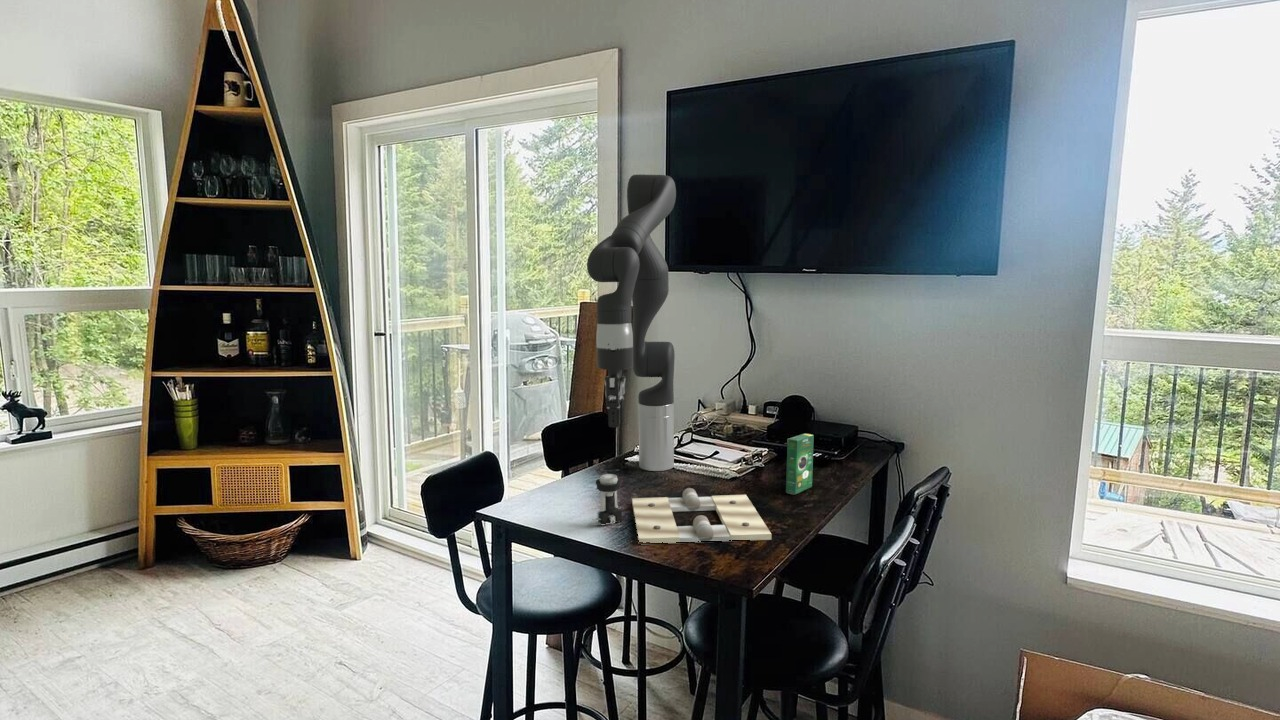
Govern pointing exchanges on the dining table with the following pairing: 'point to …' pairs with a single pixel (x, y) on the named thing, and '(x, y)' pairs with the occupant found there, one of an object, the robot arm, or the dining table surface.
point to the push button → (608, 499)
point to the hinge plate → (698, 519)
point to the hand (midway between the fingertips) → (616, 422)
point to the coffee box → (799, 463)
